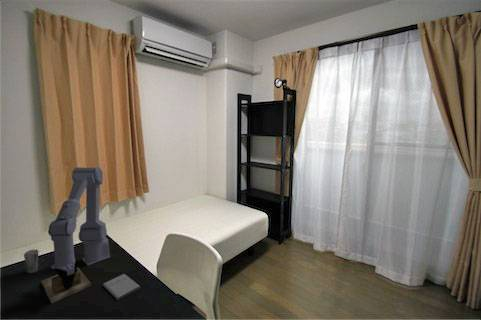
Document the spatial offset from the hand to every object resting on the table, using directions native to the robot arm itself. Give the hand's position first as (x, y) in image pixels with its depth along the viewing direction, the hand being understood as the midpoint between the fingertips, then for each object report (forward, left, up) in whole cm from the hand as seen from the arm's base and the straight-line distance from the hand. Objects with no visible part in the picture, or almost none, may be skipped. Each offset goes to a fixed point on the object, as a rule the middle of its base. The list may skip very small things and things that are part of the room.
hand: (66, 284), depth 84 cm
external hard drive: (-14, +14, -3) cm, 20 cm away
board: (0, -3, -2) cm, 4 cm away
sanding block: (0, 0, -1) cm, 1 cm away
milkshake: (+6, -24, -2) cm, 25 cm away
